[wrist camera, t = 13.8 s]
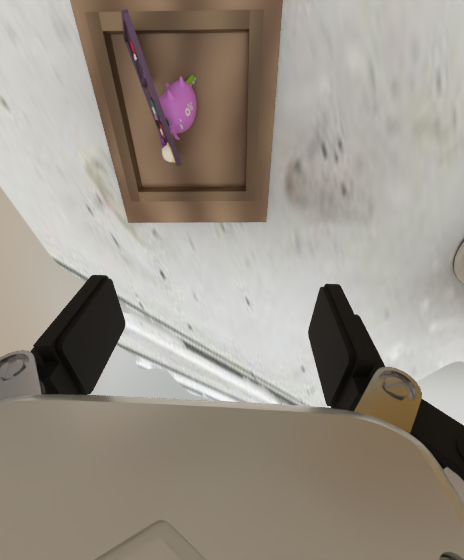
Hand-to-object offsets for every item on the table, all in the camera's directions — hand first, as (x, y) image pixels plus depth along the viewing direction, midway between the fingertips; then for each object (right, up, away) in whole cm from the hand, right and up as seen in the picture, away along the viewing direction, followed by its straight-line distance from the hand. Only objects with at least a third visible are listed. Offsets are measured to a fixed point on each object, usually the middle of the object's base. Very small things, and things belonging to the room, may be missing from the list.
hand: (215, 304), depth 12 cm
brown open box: (-3, +17, +13) cm, 21 cm away
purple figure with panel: (-4, +18, +11) cm, 21 cm away
